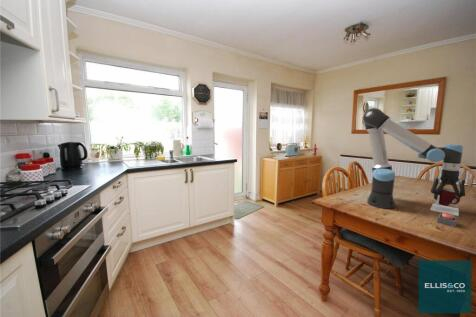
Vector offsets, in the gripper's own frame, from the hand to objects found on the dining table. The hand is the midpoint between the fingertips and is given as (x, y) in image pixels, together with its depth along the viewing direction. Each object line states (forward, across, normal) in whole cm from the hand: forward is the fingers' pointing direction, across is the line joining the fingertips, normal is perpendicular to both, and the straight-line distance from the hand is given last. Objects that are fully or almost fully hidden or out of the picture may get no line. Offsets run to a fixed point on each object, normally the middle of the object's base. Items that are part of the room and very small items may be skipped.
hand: (445, 205), depth 127 cm
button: (0, -9, -24) cm, 26 cm away
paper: (+3, 0, 0) cm, 3 cm away
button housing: (+3, -9, -24) cm, 26 cm away
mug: (0, 0, 0) cm, 0 cm away
